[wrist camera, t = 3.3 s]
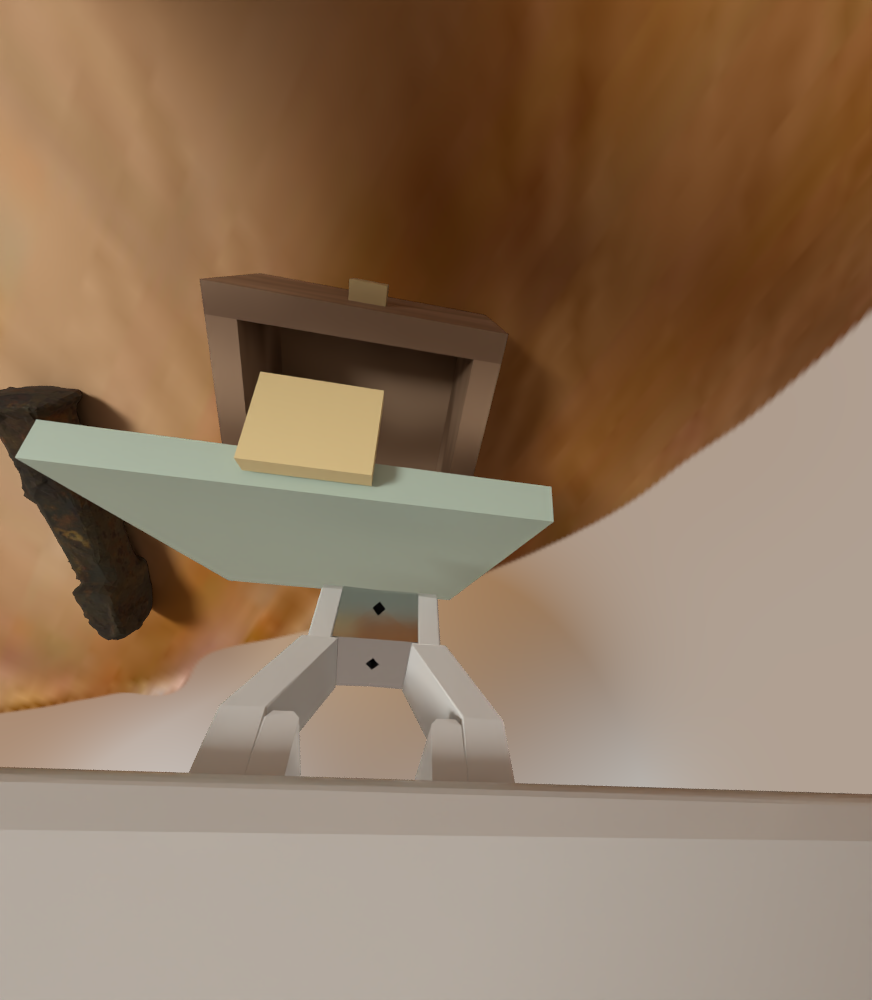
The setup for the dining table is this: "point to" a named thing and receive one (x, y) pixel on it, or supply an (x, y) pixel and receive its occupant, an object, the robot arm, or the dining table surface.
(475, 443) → the box
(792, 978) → the robot arm
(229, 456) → the lid
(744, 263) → the dining table surface
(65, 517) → the dark brown rough bar
